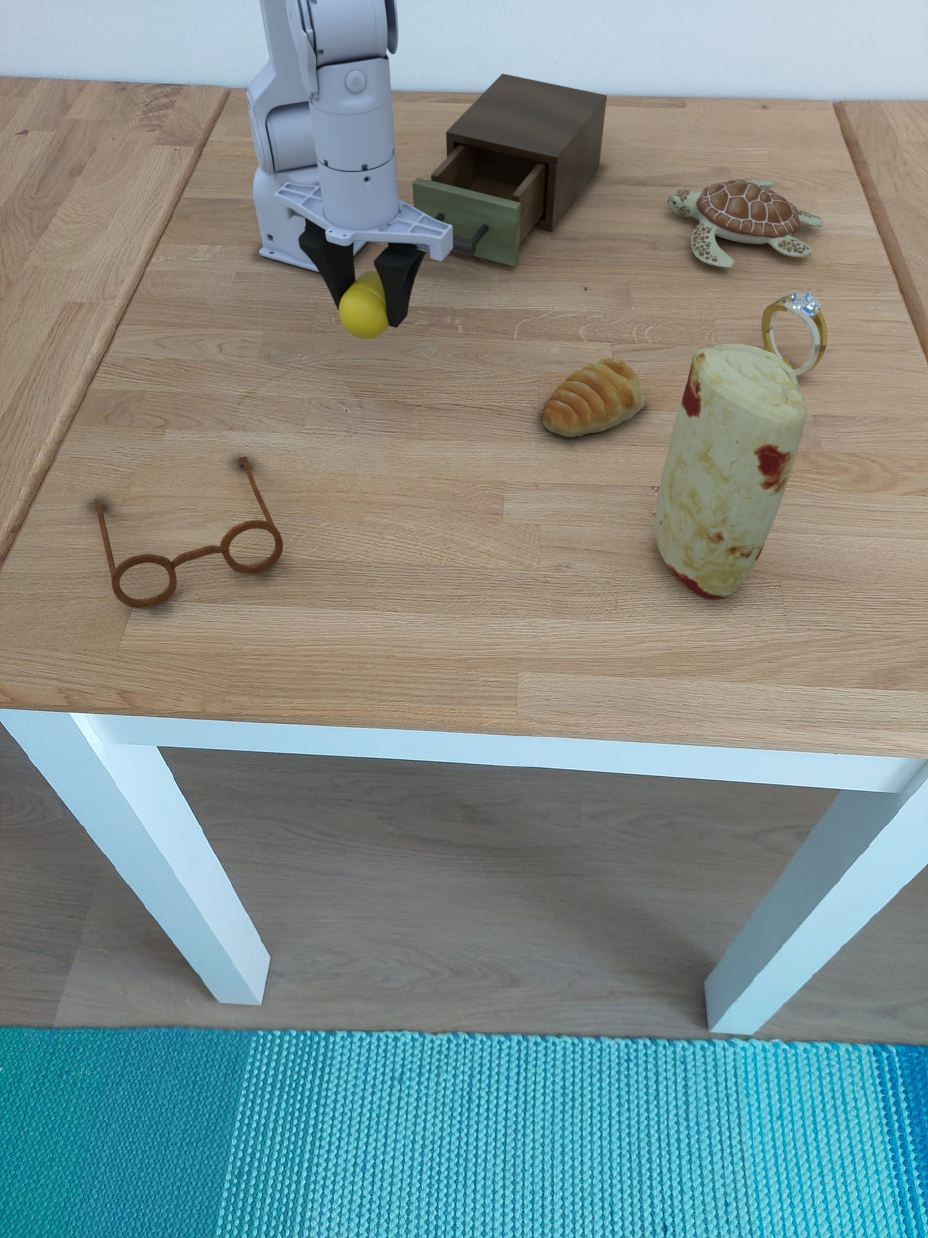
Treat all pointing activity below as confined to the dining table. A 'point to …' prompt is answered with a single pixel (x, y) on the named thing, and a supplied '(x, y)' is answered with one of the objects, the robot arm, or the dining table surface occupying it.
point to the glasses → (191, 552)
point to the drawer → (485, 200)
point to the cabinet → (538, 133)
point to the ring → (808, 314)
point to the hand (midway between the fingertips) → (372, 312)
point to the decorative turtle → (741, 219)
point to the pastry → (594, 399)
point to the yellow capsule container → (364, 307)
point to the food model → (727, 465)
